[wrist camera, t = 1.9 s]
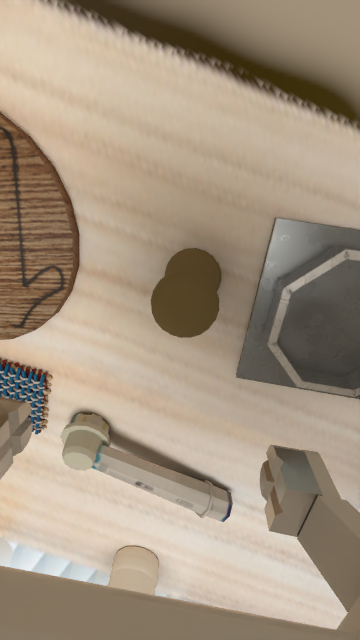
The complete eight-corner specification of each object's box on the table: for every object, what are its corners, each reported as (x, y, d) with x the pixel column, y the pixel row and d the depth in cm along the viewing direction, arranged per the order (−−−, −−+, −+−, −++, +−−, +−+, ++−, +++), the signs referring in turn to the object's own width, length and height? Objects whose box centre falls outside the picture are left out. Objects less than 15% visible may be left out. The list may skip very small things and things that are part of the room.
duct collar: (468, 245, 26) (500, 250, 23) (388, 401, 33) (405, 419, 30) (275, 217, 27) (282, 218, 24) (236, 374, 34) (238, 390, 31)
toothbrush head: (216, 531, 39) (42, 473, 33) (210, 485, 45) (62, 429, 39) (237, 511, 37) (57, 446, 31) (229, 466, 43) (76, 404, 37)
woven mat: (-19, 409, 41) (-30, 418, 39) (-20, 347, 37) (-33, 355, 35) (49, 429, 41) (41, 439, 39) (55, 370, 37) (47, 378, 35)
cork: (231, 263, 29) (242, 292, 19) (205, 312, 31) (202, 362, 21) (178, 238, 29) (160, 254, 18) (156, 289, 31) (129, 329, 21)
